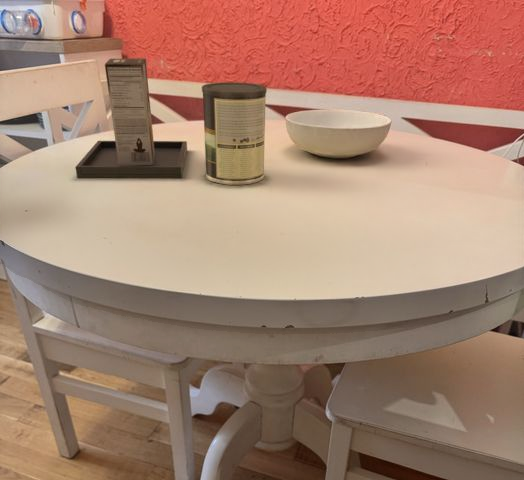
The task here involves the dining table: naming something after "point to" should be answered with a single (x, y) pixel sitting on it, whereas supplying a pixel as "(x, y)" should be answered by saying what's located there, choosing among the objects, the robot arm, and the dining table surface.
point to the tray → (106, 166)
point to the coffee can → (234, 132)
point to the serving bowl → (337, 132)
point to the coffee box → (130, 111)
